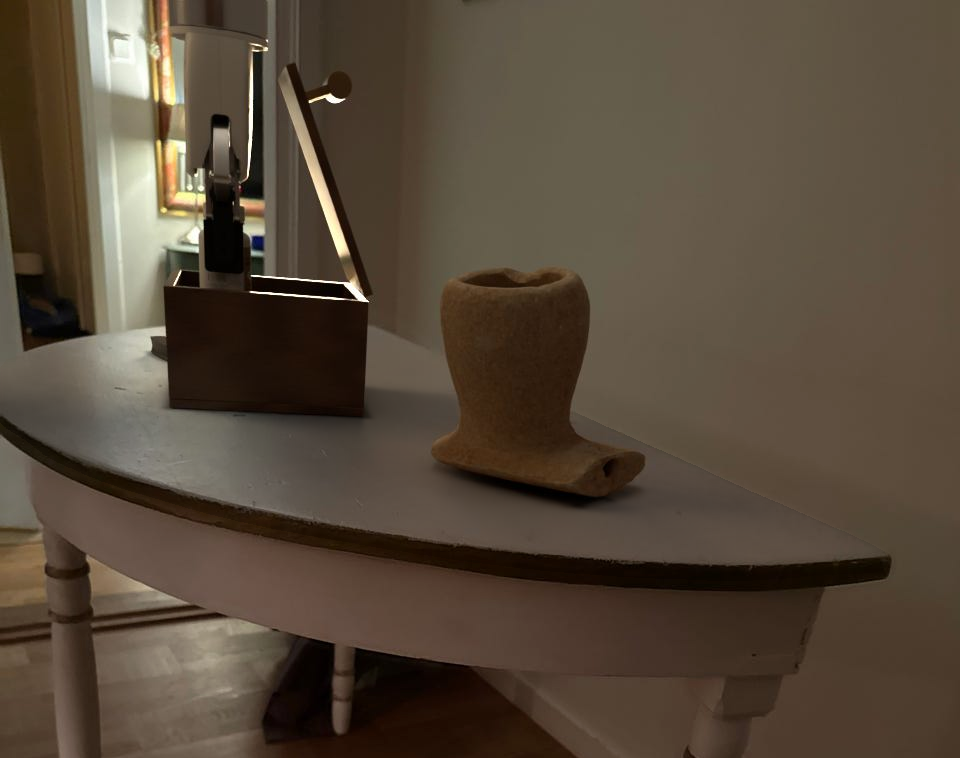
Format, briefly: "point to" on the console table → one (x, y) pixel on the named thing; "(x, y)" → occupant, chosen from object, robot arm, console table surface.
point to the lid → (324, 163)
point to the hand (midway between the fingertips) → (224, 266)
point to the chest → (266, 346)
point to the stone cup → (523, 382)
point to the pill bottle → (226, 279)
